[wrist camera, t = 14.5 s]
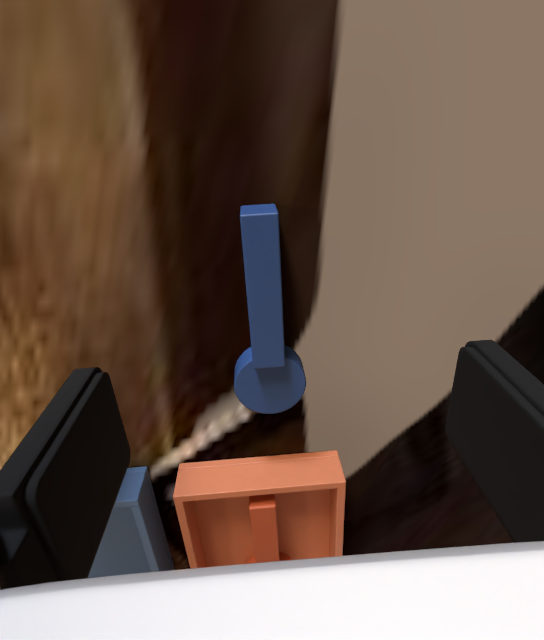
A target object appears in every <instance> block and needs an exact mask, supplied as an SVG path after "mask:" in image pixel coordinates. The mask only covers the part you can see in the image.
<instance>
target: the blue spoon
mask: <svg viewBox="0 0 544 640" xmlns="http://www.w3.org/2000/svg"><path fill="white" fill-rule="evenodd" d="M240 223H241V235H242V246H243V258H244V269H245V280H246V292H247V303H248V315H249V326H250V337H251V347H250V348H248V349H247V350H246V351H245V352H243V353H242V355H241V356H240V357H239V359H238V360H237V363H236V366H235V376H234V389H235V393H236V396H237V397H238V399H239V400H240V402H241V403H242V404H243V405H244V406H246V407H247V408H249V409H250V410H252V411H255V412H258V413H264V414H273V413H279V412H282V411H285V410H287V409H289V408H291V407H293V406H294V405H295V404H296V403H297V402H298V401H299V400H300V399H301V397H302V395H303V394H304V391H305V387H306V378H305V374H304V370H303V365H302V362H301V359H300V357H299V356H298V355H297V353H296V352H295V351H294V350H293V349H291V348H290V347H288V346H286V345H284V325H283V302H282V279H281V255H280V232H279V214H278V211H277V208H276V205H275V204H262V205H247V206H241V208H240Z"/></svg>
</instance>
